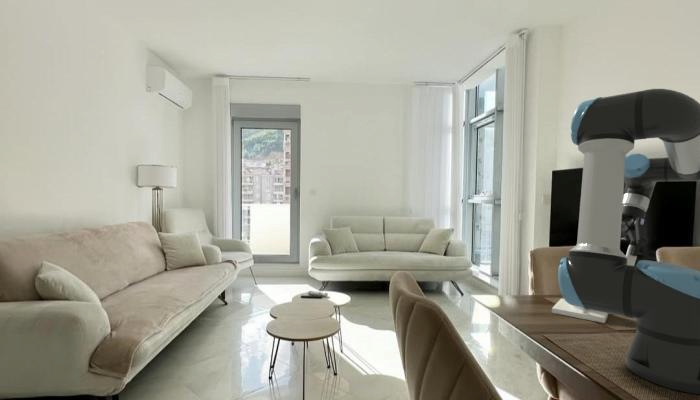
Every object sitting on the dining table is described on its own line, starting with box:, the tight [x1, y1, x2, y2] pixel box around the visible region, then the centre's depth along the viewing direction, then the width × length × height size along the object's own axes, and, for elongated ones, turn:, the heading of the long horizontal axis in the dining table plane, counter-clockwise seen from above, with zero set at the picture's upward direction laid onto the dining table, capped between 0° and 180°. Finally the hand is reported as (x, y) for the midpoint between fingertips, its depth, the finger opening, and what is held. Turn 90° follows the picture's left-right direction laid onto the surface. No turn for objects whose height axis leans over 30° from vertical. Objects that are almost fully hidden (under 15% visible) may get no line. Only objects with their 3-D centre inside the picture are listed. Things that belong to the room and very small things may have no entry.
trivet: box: [551, 297, 609, 324], centre depth 115 cm, size 15×14×2 cm
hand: (613, 266), depth 116 cm, fingers open, 13 cm apart
